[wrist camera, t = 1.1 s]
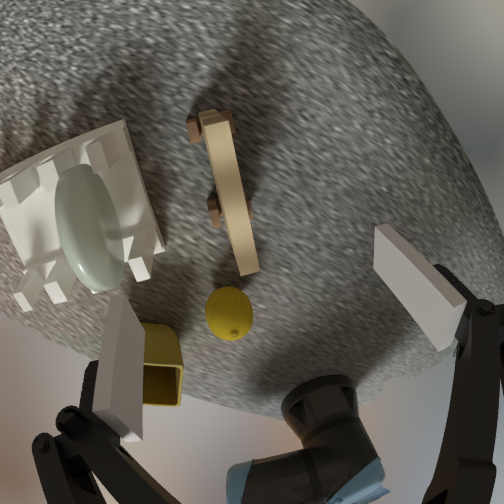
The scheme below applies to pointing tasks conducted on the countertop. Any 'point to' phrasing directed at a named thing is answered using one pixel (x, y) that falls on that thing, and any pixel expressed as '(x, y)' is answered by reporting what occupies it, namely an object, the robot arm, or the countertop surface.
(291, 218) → the countertop surface
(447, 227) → the countertop surface
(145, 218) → the dish rack
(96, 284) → the sage plate
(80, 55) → the countertop surface
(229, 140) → the bamboo board
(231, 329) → the lemon
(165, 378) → the flower pot
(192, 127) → the board stand
